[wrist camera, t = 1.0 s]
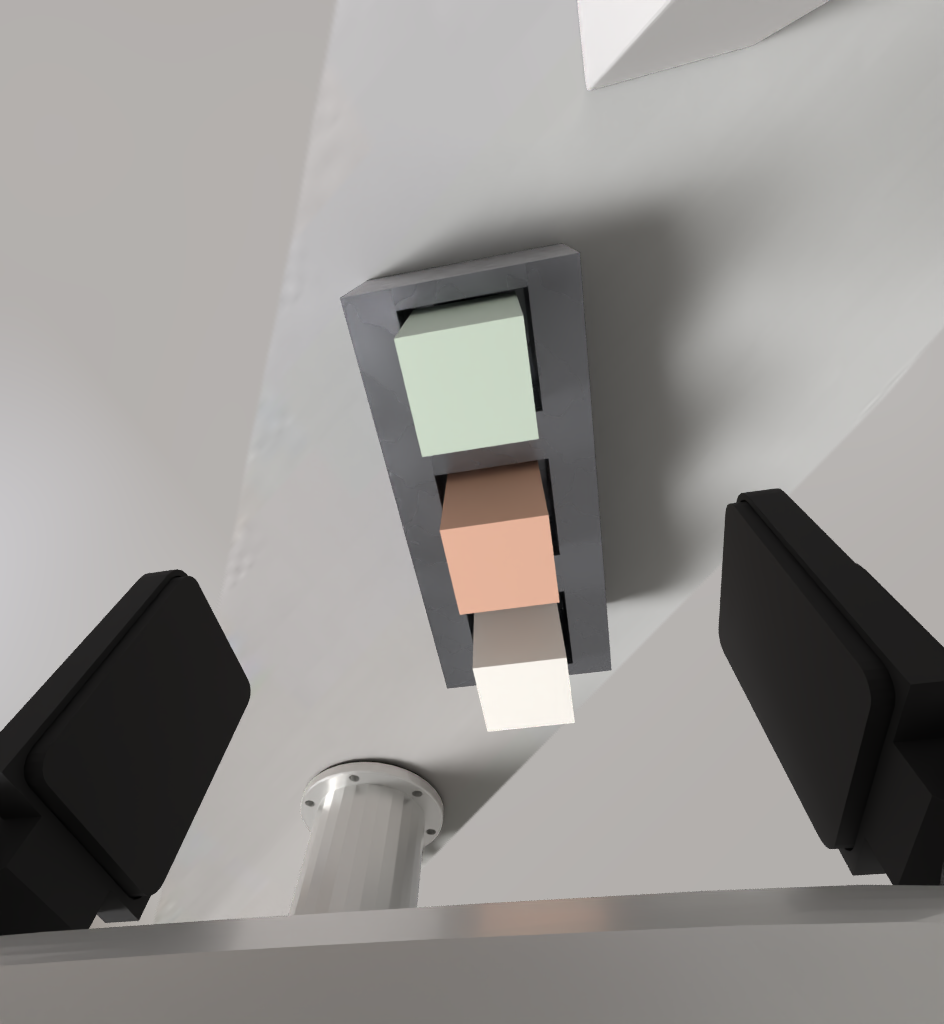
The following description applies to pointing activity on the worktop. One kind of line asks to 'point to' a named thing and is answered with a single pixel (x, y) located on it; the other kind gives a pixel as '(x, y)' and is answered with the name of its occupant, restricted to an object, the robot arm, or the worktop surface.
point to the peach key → (498, 538)
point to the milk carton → (673, 32)
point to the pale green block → (468, 374)
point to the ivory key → (521, 668)
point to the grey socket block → (559, 450)
